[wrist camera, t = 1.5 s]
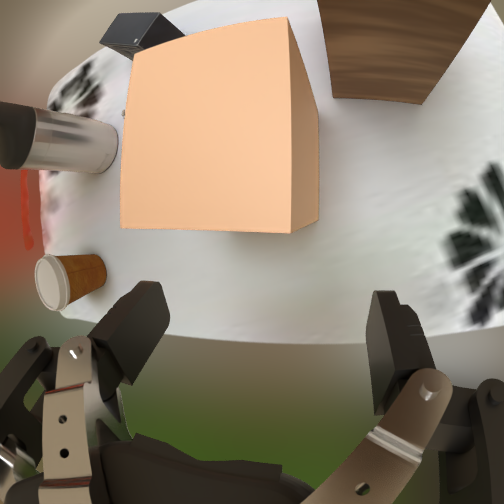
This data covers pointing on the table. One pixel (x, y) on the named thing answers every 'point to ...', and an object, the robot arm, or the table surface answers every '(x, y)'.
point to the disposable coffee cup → (68, 278)
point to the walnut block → (394, 44)
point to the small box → (139, 33)
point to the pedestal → (221, 133)
